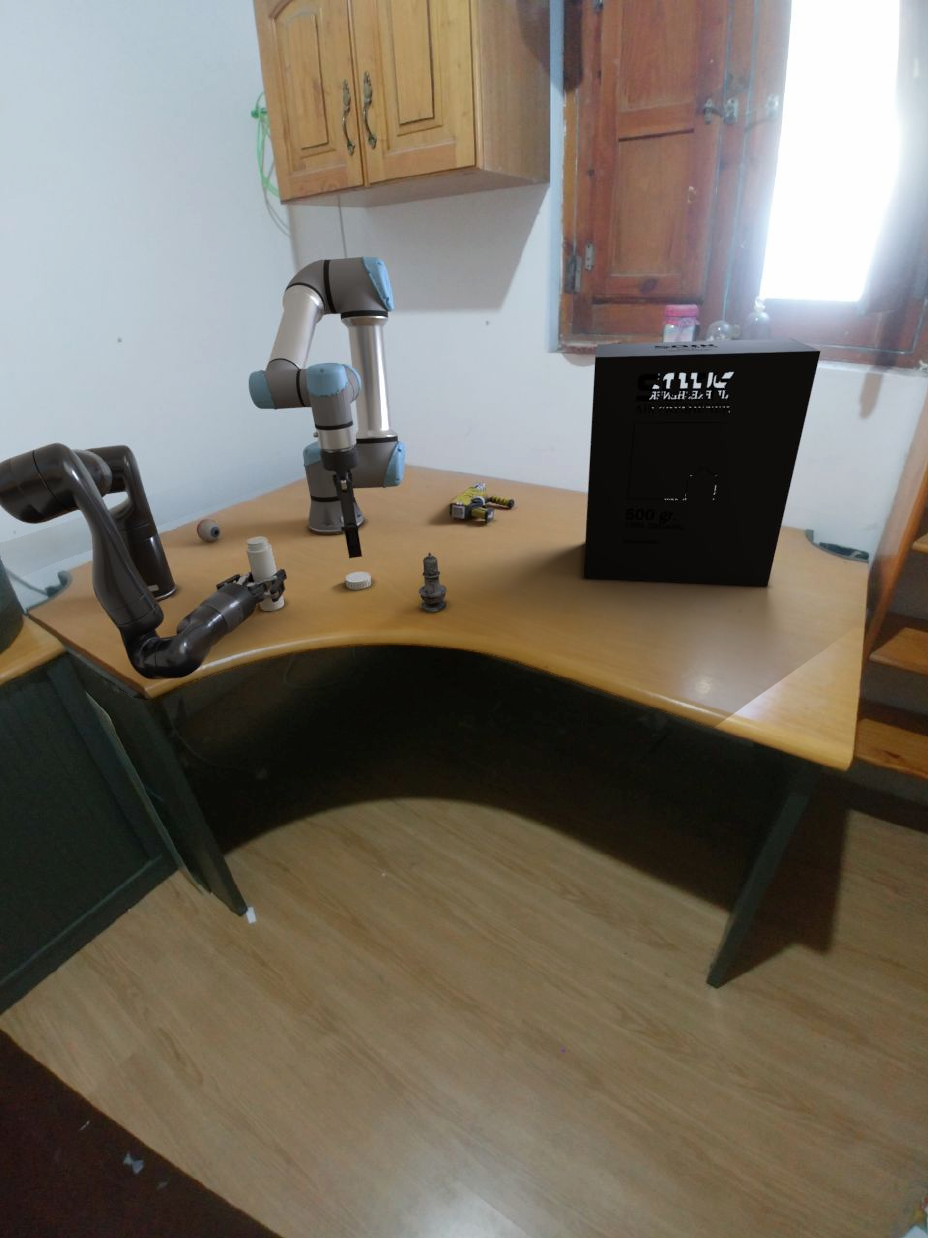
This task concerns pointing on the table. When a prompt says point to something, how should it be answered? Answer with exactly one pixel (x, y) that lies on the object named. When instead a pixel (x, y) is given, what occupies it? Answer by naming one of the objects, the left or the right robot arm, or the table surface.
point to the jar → (263, 567)
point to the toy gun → (476, 504)
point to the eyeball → (208, 530)
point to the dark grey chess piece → (432, 586)
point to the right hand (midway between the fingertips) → (353, 543)
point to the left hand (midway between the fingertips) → (272, 572)
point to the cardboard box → (693, 458)
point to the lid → (358, 580)
